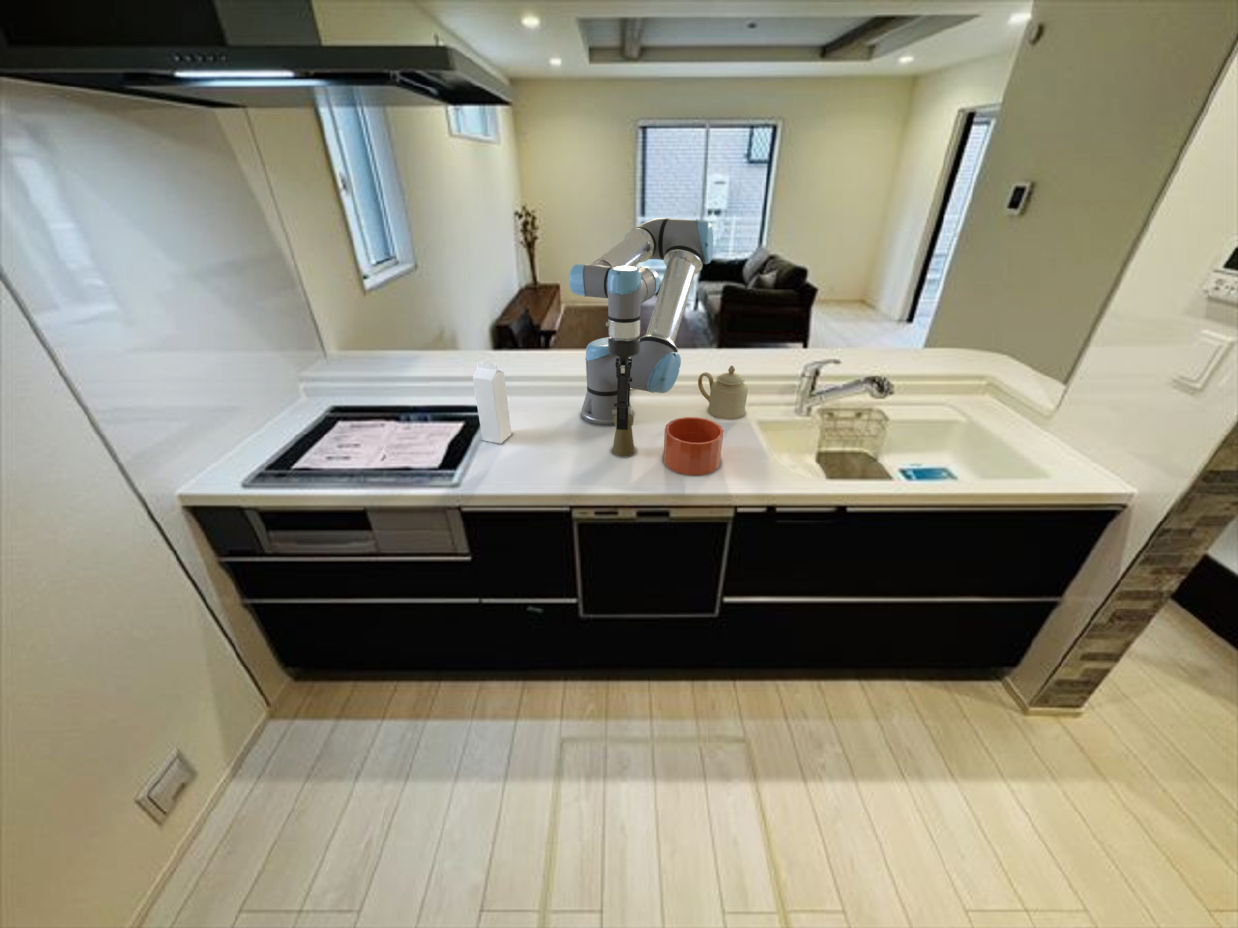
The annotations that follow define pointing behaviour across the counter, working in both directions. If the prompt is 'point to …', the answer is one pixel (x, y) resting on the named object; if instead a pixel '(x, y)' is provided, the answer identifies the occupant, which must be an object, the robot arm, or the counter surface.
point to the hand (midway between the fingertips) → (623, 417)
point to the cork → (624, 439)
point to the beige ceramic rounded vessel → (725, 394)
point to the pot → (692, 445)
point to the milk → (492, 403)
